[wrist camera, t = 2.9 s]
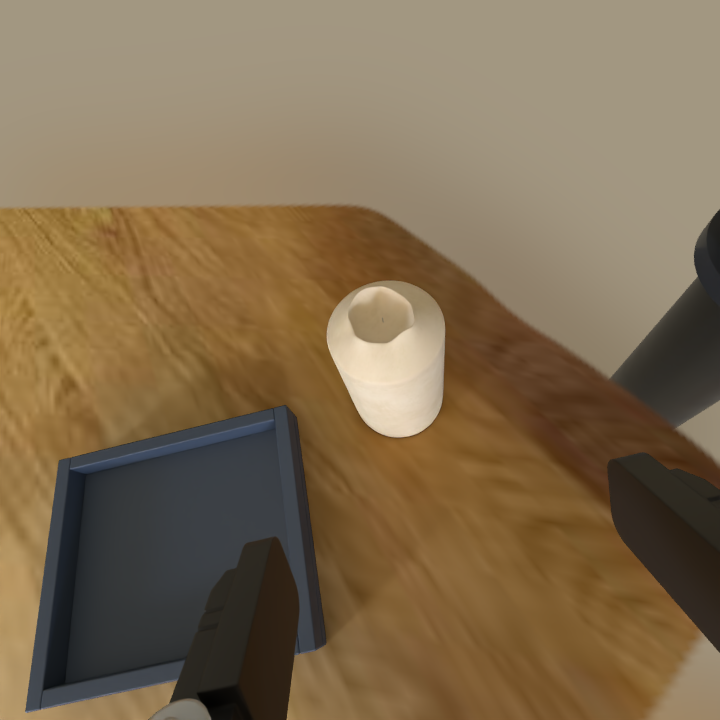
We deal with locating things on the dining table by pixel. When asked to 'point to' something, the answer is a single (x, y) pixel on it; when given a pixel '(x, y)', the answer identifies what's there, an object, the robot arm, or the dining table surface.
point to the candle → (390, 355)
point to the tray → (163, 551)
